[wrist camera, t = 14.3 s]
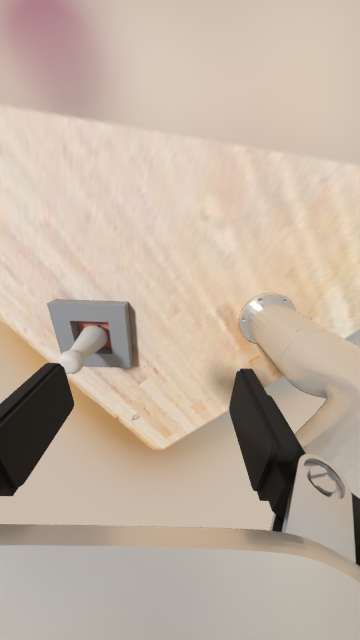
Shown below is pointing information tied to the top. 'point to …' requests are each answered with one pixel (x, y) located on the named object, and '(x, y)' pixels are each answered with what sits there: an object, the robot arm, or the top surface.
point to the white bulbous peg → (83, 348)
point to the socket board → (83, 313)
